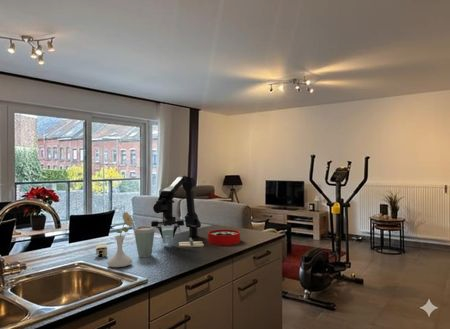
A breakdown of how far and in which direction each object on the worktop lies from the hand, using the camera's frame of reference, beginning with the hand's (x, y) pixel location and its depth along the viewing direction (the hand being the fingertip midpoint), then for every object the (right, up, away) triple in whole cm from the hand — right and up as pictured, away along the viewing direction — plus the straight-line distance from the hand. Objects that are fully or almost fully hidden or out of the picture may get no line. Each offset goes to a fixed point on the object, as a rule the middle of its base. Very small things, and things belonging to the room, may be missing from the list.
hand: (167, 237), depth 198 cm
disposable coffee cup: (-8, -5, -22) cm, 24 cm away
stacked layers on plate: (-31, -5, -21) cm, 38 cm away
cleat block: (0, -2, 0) cm, 2 cm away
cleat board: (+13, -5, +3) cm, 14 cm away
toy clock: (+33, -5, +12) cm, 35 cm away
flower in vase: (-15, -5, -39) cm, 42 cm away
